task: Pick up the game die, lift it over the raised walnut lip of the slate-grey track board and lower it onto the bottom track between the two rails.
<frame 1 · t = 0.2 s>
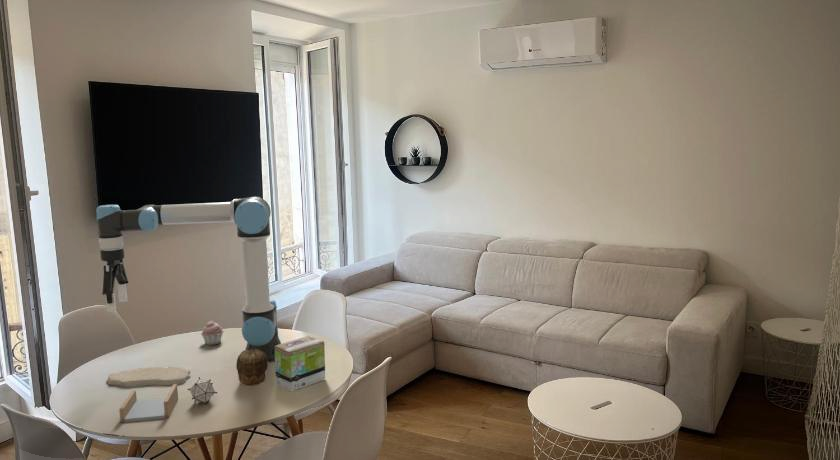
hand: (117, 306, 225), 28 cm above the table, tool pointing down, fingers open, 13 cm apart
tea box: (301, 382, 224), on the table
game die: (203, 402, 209), on the table
track: (150, 410, 203), on the table
cupcake: (213, 343, 268), on the table
woven dome ornament: (253, 382, 225), on the table
stone tablet: (151, 378, 231), on the table
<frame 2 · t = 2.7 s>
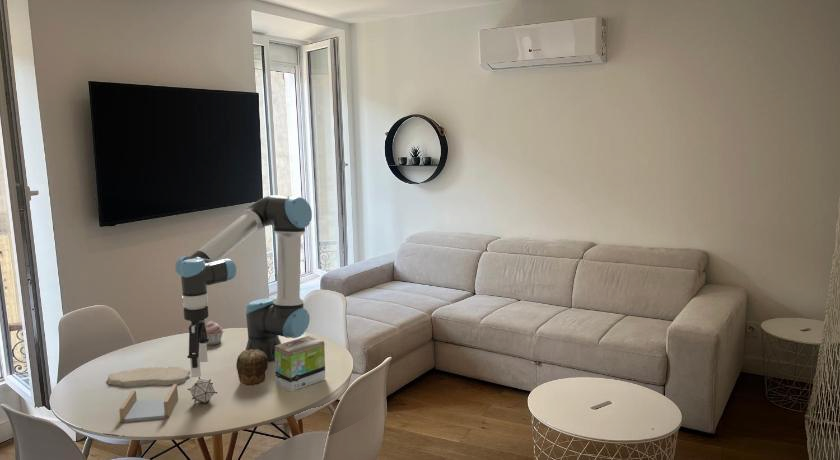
hand: (199, 369, 207), 12 cm above the table, tool pointing down, fingers open, 13 cm apart
nothing on the table moved.
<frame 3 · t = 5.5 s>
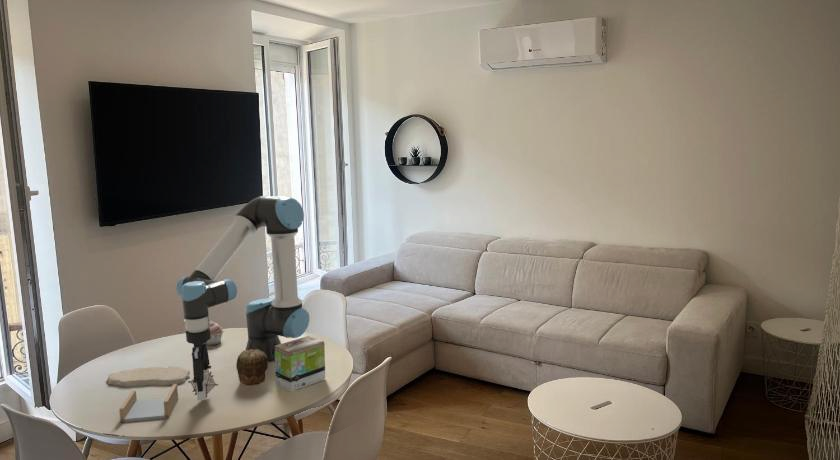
hand: (204, 393, 209), 3 cm above the table, tool pointing down, fingers closed on game die, 8 cm apart
game die: (204, 395, 209), point 2 cm above the table, touching gripper
everything else where it was.
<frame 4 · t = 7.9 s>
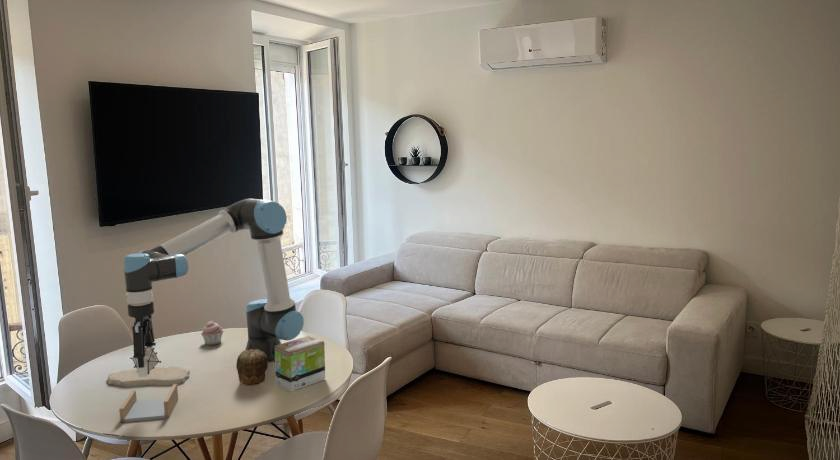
hand: (146, 371, 201), 14 cm above the table, tool pointing down, fingers closed on game die, 8 cm apart
game die: (146, 372, 201), point 13 cm above the table, touching gripper
everything else where it was.
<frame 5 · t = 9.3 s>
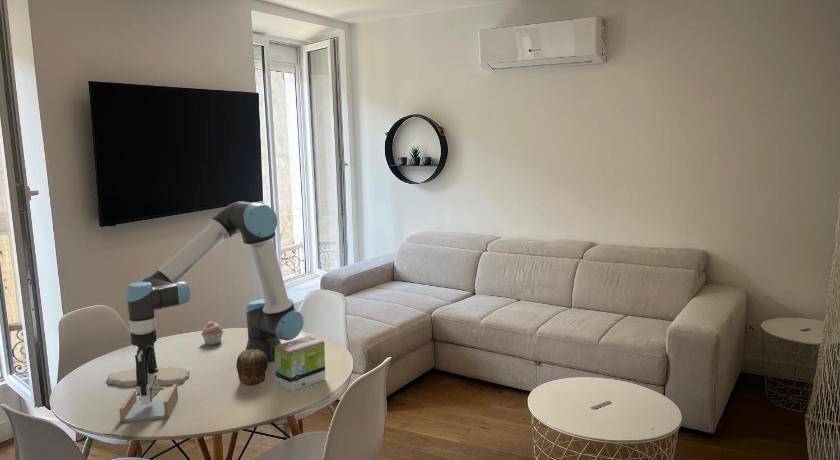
hand: (149, 398, 202), 4 cm above the table, tool pointing down, fingers closed on game die, 8 cm apart
game die: (149, 399, 202), point 4 cm above the table, touching gripper
everything else where it was.
when the fingers open (3 cm above the table, at t = 10.5 s): game die drops 1 cm, resting on track.
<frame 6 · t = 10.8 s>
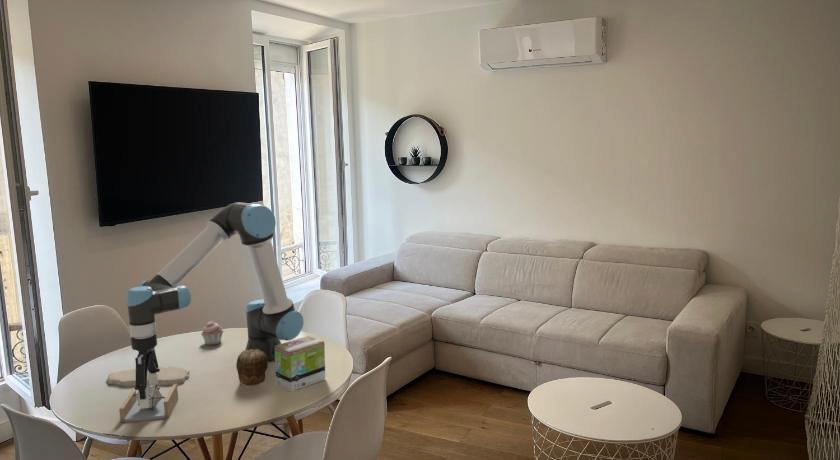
hand: (149, 399, 203), 4 cm above the table, tool pointing down, fingers open, 11 cm apart
game die: (150, 408, 203), point 1 cm above the table, touching track
everything else where it was.
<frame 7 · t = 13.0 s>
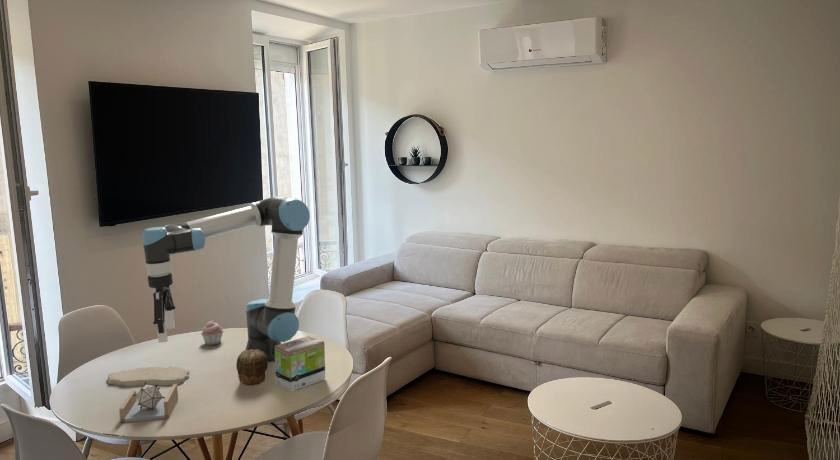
hand: (167, 335, 211), 22 cm above the table, tool pointing down, fingers open, 13 cm apart
nothing on the table moved.
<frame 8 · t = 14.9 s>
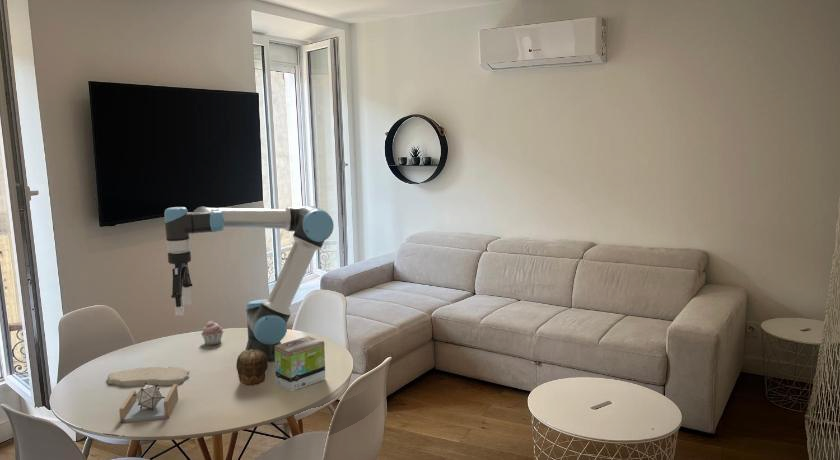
hand: (183, 309, 223), 27 cm above the table, tool pointing down, fingers open, 13 cm apart
nothing on the table moved.
at the end: game die 0.3 cm from the track (horizontally); game die point 0.8 cm above the table; the gripper is holding nothing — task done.
